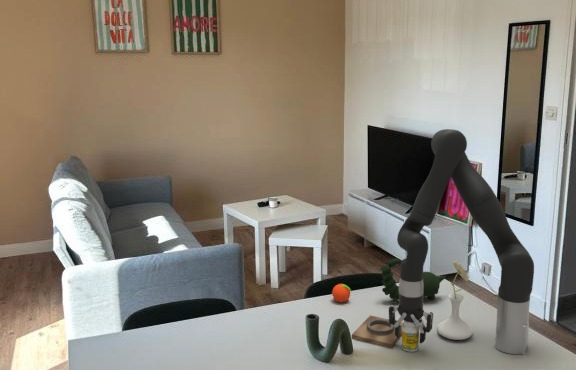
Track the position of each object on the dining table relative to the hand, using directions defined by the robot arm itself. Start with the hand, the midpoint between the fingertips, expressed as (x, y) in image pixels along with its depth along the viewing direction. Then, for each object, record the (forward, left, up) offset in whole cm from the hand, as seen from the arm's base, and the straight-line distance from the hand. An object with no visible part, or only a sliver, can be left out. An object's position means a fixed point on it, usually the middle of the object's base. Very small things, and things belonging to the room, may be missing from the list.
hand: (409, 339), depth 180 cm
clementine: (+34, -22, -3) cm, 40 cm away
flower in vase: (-10, -16, -3) cm, 19 cm away
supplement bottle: (0, 0, -3) cm, 3 cm away
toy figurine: (+10, -35, -3) cm, 36 cm away
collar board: (+12, -5, -3) cm, 13 cm away
